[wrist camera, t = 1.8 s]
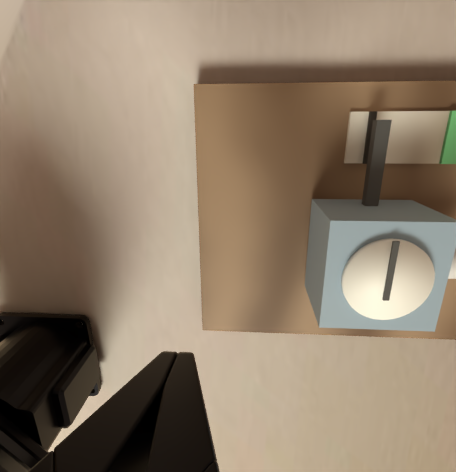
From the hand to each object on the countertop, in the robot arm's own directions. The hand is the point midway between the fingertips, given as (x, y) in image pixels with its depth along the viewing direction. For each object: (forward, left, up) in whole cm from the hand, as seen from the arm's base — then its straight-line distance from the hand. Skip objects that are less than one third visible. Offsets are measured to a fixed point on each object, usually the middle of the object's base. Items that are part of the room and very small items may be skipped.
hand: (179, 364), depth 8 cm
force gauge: (+9, +2, -10) cm, 13 cm away
